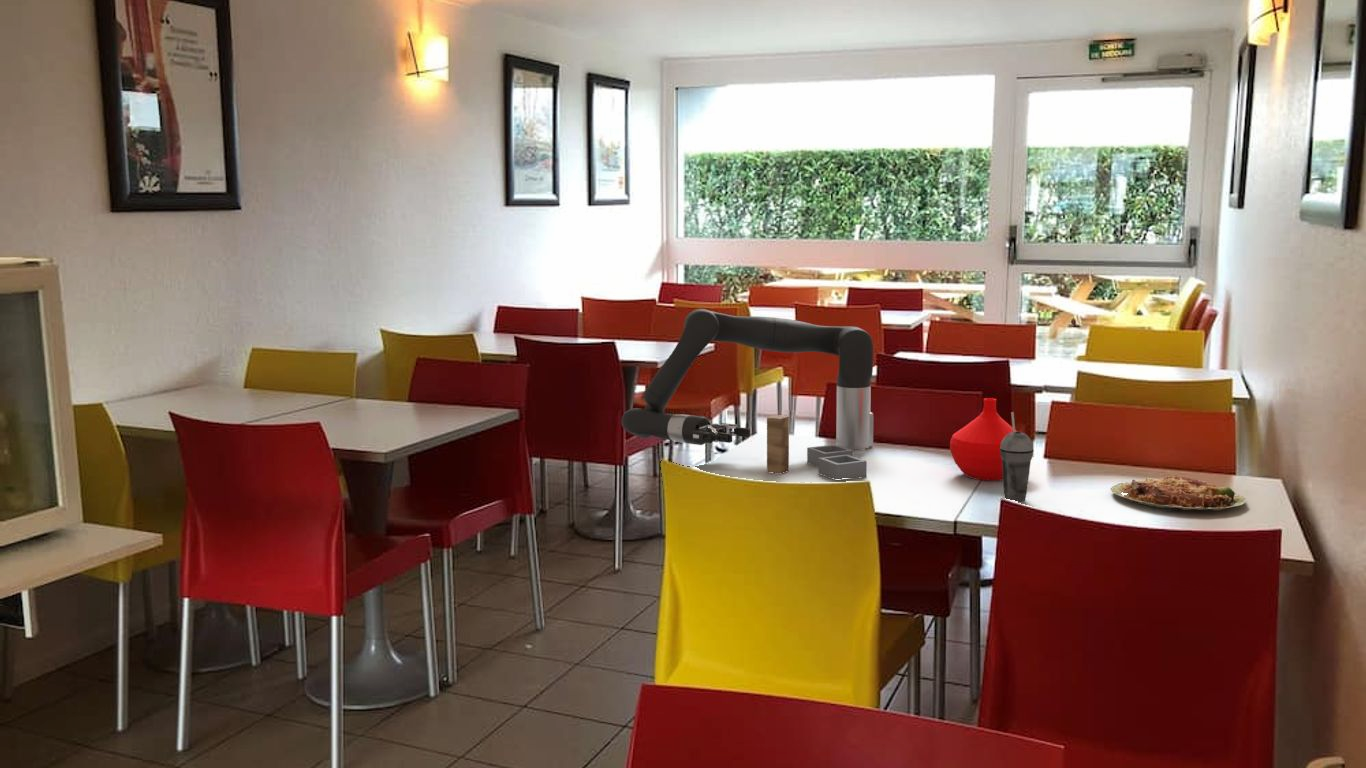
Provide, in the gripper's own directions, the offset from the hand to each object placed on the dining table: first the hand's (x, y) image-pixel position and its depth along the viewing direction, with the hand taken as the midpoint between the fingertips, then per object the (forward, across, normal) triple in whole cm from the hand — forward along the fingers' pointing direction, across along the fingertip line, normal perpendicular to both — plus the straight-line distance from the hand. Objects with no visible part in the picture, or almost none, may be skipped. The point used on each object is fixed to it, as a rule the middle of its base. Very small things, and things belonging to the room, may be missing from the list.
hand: (740, 435), depth 283 cm
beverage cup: (+70, +4, +8) cm, 71 cm away
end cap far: (+18, +14, +8) cm, 24 cm away
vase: (+57, +23, +8) cm, 62 cm away
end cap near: (+27, +5, +8) cm, 28 cm away
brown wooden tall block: (+11, 0, +8) cm, 14 cm away
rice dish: (+100, +24, +9) cm, 103 cm away
